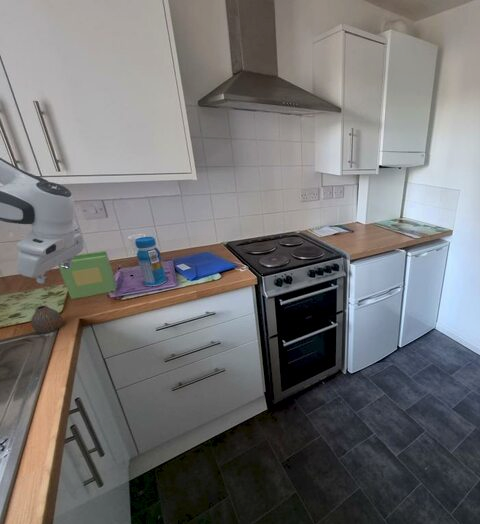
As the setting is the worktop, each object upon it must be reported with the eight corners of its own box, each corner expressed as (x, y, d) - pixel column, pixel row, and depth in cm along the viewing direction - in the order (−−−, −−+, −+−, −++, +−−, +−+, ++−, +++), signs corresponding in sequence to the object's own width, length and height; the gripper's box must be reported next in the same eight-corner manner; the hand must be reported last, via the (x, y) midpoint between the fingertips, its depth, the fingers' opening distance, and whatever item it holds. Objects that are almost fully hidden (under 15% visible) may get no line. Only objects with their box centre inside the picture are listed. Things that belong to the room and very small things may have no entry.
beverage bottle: (142, 288, 124) (129, 242, 117) (147, 280, 132) (135, 236, 124) (165, 285, 127) (153, 240, 119) (169, 277, 134) (158, 235, 127)
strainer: (144, 265, 147) (136, 236, 141) (131, 264, 148) (123, 235, 142) (155, 260, 153) (148, 232, 148) (143, 259, 154) (135, 231, 149)
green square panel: (70, 299, 115) (55, 260, 109) (73, 294, 119) (58, 255, 113) (116, 291, 122) (104, 253, 116) (117, 286, 126) (106, 249, 120)
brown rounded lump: (59, 322, 100) (50, 299, 97) (70, 328, 98) (60, 304, 94) (32, 333, 95) (21, 309, 91) (42, 339, 92) (31, 315, 89)
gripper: (68, 221, 98) (68, 257, 103) (10, 246, 80) (13, 288, 85) (90, 228, 100) (88, 262, 105) (38, 254, 81) (39, 294, 87)
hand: (54, 274), depth 95 cm, fingers open, 8 cm apart
